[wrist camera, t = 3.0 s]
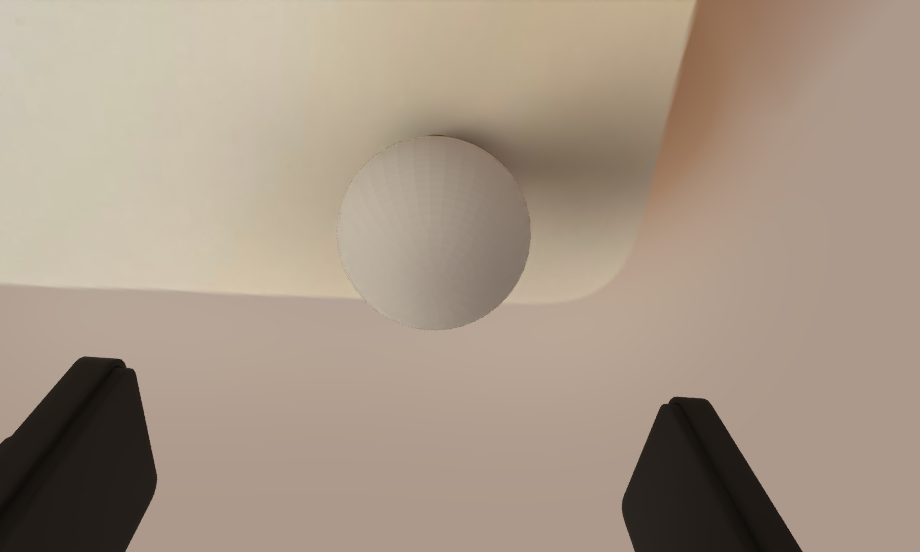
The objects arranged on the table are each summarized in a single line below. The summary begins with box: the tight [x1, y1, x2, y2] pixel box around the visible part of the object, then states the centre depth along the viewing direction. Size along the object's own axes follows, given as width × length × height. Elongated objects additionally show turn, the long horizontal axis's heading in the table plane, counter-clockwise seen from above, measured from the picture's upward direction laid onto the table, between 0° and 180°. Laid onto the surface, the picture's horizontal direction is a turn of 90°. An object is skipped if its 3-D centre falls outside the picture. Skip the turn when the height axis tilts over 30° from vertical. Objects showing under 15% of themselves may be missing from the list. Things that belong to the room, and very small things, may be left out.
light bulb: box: [337, 135, 531, 330], centre depth 19 cm, size 6×6×10 cm
